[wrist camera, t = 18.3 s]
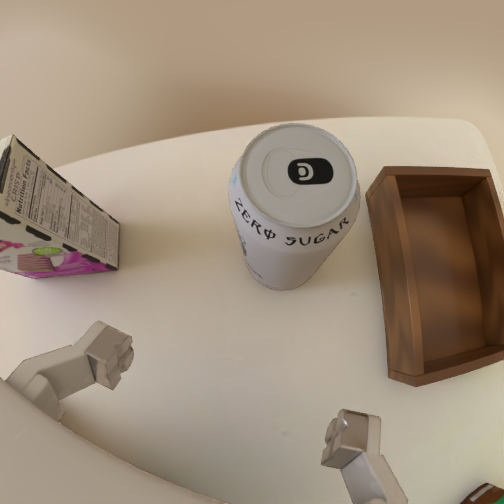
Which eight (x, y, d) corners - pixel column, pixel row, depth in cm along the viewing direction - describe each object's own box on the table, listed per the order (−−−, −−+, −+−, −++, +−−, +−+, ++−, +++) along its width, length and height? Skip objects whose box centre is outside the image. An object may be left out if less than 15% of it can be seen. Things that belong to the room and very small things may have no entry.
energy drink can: (243, 224, 28) (221, 117, 13) (312, 219, 28) (354, 112, 13) (247, 294, 26) (226, 249, 12) (320, 288, 26) (383, 237, 12)
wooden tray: (487, 351, 24) (522, 352, 19) (388, 377, 24) (415, 387, 19) (461, 191, 28) (489, 169, 23) (364, 193, 28) (383, 165, 23)
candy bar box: (32, 282, 27) (-92, 241, 12) (35, 236, 29) (-77, 175, 13) (121, 274, 27) (-8, 212, 11) (122, 221, 28) (13, 127, 13)
